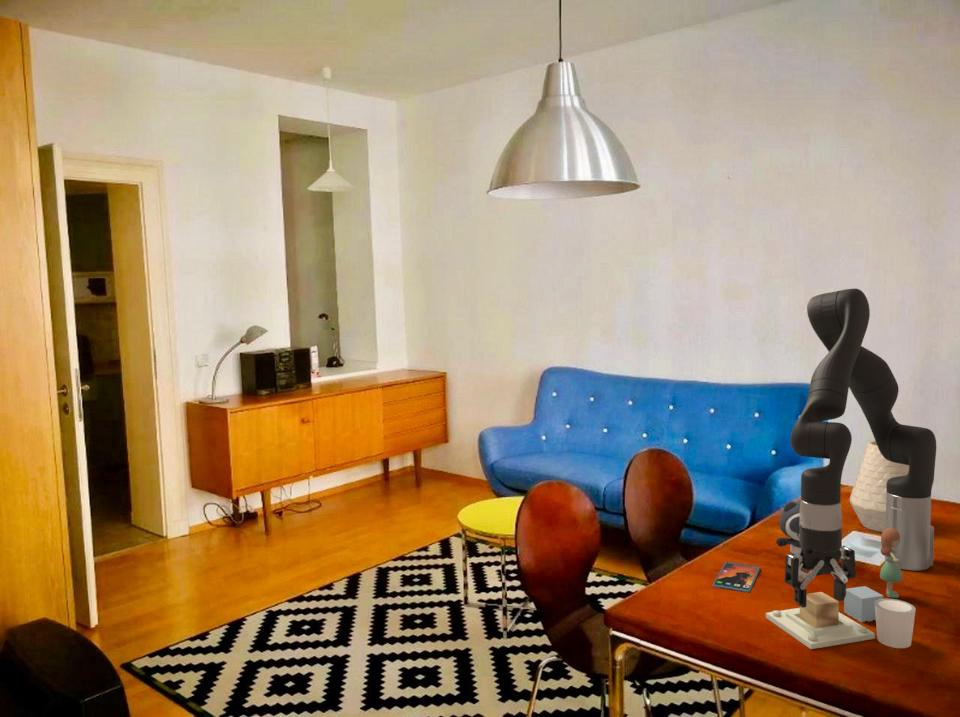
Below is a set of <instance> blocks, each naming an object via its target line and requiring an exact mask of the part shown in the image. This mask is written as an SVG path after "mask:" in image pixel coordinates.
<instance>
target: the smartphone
mask: <svg viewBox="0 0 960 717" xmlns="http://www.w3.org/2000/svg"><path fill="white" fill-rule="evenodd" d="M760 571H761V567H760V566H758V565H752V564H745V563H738V562H737V563H736V562H731V561H725V563H724V564H723V566H722V568H721V570H720V571H719V573H718V574H717V576H716V578H715V580H714V582H713V584H712V587H713V588H717V589H724V590H733V591H737V592H741V593H746V594H747V593H748V594H749V593H750V592H751V591H752V589H753V586H754V584H755V582H756V580H757V578H758V576H759V574H760Z"/></svg>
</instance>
